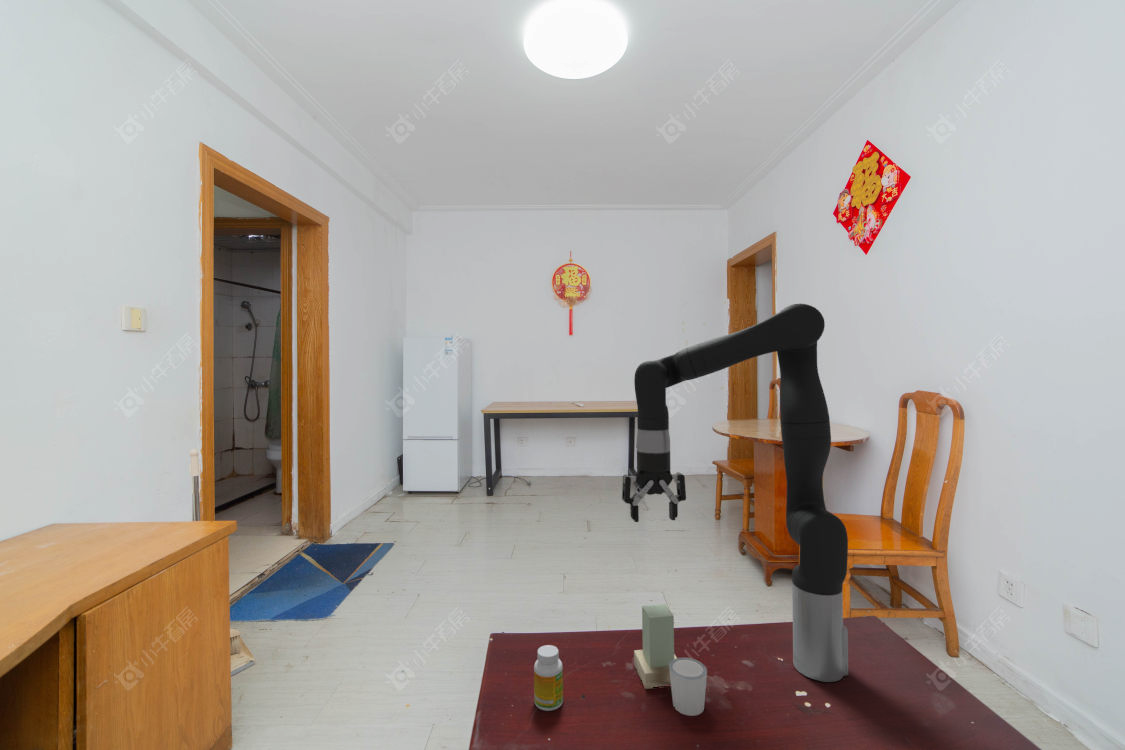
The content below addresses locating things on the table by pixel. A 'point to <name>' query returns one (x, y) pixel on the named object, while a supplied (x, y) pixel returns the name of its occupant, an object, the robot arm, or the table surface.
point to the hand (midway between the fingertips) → (654, 520)
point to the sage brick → (658, 635)
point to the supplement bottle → (548, 679)
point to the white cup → (688, 685)
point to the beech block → (651, 672)
